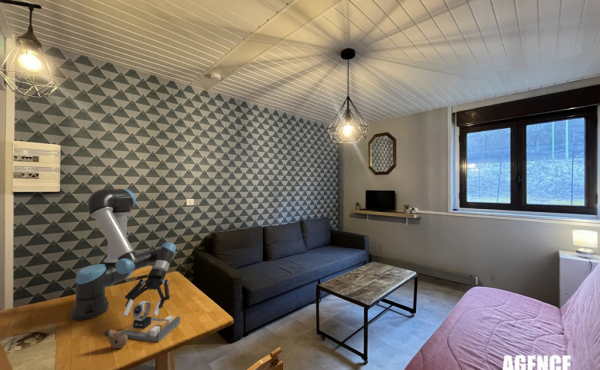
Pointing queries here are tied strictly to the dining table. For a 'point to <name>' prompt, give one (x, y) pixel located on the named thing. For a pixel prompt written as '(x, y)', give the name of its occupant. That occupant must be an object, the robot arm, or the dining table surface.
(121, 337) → the oil lamp
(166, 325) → the board
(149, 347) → the dining table surface
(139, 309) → the watch
